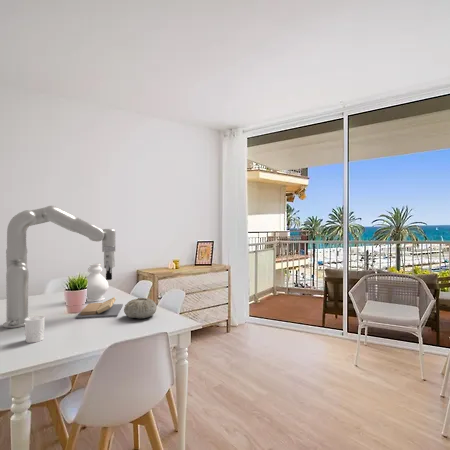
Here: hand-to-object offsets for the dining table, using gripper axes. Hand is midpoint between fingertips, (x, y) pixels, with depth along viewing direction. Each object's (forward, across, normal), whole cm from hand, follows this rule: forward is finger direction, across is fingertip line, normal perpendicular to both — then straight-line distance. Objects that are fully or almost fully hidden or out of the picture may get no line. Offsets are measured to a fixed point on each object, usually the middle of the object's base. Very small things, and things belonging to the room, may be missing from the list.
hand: (108, 279), depth 192 cm
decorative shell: (+19, -16, -19) cm, 32 cm away
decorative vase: (+19, +34, +15) cm, 42 cm away
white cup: (+19, -45, +25) cm, 55 cm away
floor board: (+19, 0, +5) cm, 20 cm away
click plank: (+16, 0, +1) cm, 16 cm away
